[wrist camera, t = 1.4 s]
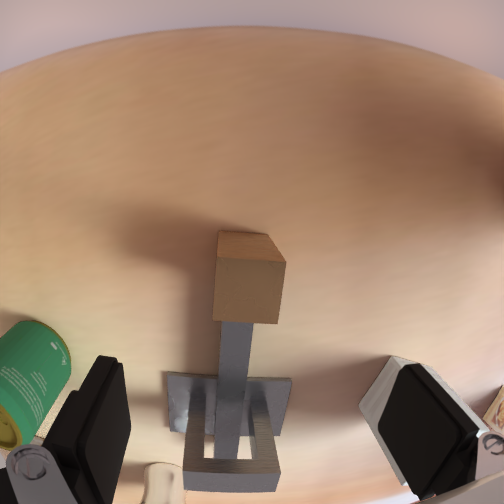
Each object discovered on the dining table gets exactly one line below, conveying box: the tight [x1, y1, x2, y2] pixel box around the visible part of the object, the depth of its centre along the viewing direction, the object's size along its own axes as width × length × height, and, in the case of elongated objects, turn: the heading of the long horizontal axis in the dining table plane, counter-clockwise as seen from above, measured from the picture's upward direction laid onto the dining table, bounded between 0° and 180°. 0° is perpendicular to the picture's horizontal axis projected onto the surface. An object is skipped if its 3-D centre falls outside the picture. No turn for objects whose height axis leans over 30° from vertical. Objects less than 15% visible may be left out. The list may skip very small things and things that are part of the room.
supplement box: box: [358, 356, 490, 486], centre depth 26 cm, size 7×7×13 cm
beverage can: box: [0, 321, 71, 451], centre depth 22 cm, size 8×8×12 cm
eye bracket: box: [167, 372, 292, 493], centre depth 26 cm, size 12×8×10 cm, turn 84°
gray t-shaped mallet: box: [212, 231, 286, 459], centre depth 25 cm, size 4×24×8 cm, turn 174°
